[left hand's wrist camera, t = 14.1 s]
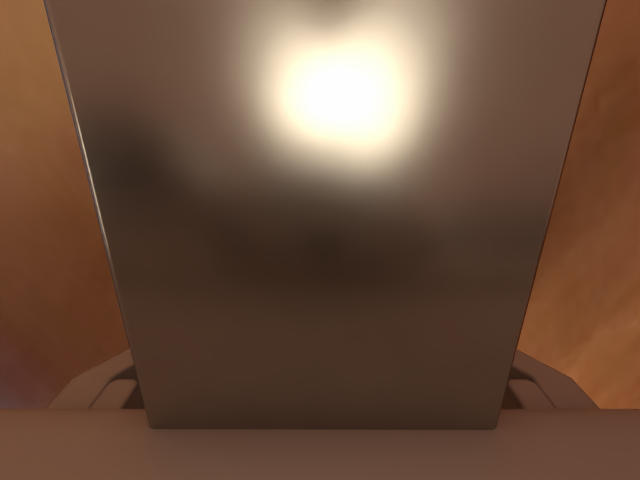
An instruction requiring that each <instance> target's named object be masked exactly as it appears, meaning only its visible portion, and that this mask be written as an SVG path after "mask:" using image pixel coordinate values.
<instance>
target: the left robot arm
mask: <svg viewBox="0 0 640 480" xmlns="http://www.w3.org/2000/svg"><path fill="white" fill-rule="evenodd" d="M0 480H640V409H600V408H599V407H598V406H597V405H596V404H595V403H594V402H593V401H592V400H591V399H590V398H589V397H588V395H587V394H586V393H585V392H584V391H583V390H582V389H581V388H580V387H579V386H578V385H577V384H576V382H575V381H574V380H573V379H572V378H570V377H568V376H566V375H564V374H562V373H561V372H559V371H557V370H555V369H553V368H551V367H549V366H547V365H545V364H543V363H542V362H540V361H538V360H536V359H534V358H532V357H530V356H528V355H526V354H524V353H522V352H521V351H519V350H517V349H516V353H515V357H514V360H513V364H512V368H511V372H510V376H509V380H508V384H507V387H506V391H505V395H504V399H503V403H502V407H501V411H500V414H499V418H498V422H497V426H496V429H493V430H295V429H152V428H150V427H149V423H148V419H147V415H146V411H145V407H144V403H143V399H142V395H141V391H140V387H139V383H138V379H137V375H136V371H135V367H134V363H133V359H132V355H131V351H130V348H129V349H127V350H125V351H123V352H121V353H119V354H118V355H116V356H114V357H112V358H110V359H108V360H106V361H104V362H102V363H101V364H99V365H97V366H95V367H93V368H91V369H89V370H87V371H85V372H83V373H82V374H80V375H78V376H76V377H74V378H73V379H72V380H71V381H70V382H69V383H68V384H67V385H66V386H65V388H64V389H63V390H62V391H61V392H60V393H59V394H58V395H57V396H56V397H55V399H54V400H53V401H52V402H51V403H50V404H49V405H48V406H47V407H46V408H45V409H0Z"/></svg>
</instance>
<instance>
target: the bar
mask: <svg viewBox="0 0 640 480" xmlns="http://www.w3.org/2000/svg"><path fill="white" fill-rule="evenodd" d="M43 1H44V5H45V9H46V13H47V17H48V21H49V25H50V29H51V33H52V37H53V41H54V45H55V49H56V53H57V57H58V61H59V65H60V69H61V73H62V77H63V81H64V85H65V89H66V93H67V97H68V101H69V105H70V109H71V113H72V117H73V121H74V125H75V129H76V133H77V137H78V142H79V146H80V150H81V154H82V158H83V162H84V166H85V170H86V174H87V178H88V182H89V186H90V190H91V194H92V198H93V202H94V206H95V210H96V214H97V218H98V222H99V226H100V230H101V234H102V238H103V242H104V246H105V250H106V254H107V258H108V262H109V266H110V270H111V274H112V278H113V282H114V286H115V290H116V294H117V298H118V302H119V306H120V310H121V314H122V318H123V322H124V326H125V330H126V334H127V338H128V342H129V346H130V351H131V355H132V359H133V363H134V367H135V371H136V375H137V379H138V383H139V387H140V391H141V395H142V399H143V403H144V407H145V411H146V415H147V419H148V423H149V427H150V428H152V429H295V430H493V429H496V426H497V422H498V418H499V414H500V411H501V407H502V403H503V399H504V395H505V391H506V387H507V384H508V380H509V376H510V372H511V368H512V364H513V360H514V357H515V353H516V349H517V345H518V341H519V337H520V333H521V330H522V326H523V322H524V318H525V314H526V310H527V306H528V303H529V299H530V295H531V291H532V287H533V283H534V280H535V276H536V272H537V268H538V264H539V260H540V256H541V253H542V249H543V245H544V241H545V237H546V233H547V229H548V226H549V222H550V218H551V214H552V210H553V206H554V202H555V199H556V195H557V191H558V187H559V183H560V179H561V176H562V172H563V168H564V164H565V160H566V156H567V152H568V149H569V145H570V141H571V137H572V133H573V129H574V125H575V122H576V118H577V114H578V110H579V106H580V102H581V98H582V95H583V91H584V87H585V83H586V79H587V75H588V71H589V68H590V64H591V60H592V56H593V52H594V48H595V45H596V41H597V37H598V33H599V29H600V25H601V21H602V18H603V14H604V10H605V6H606V2H607V0H43Z"/></svg>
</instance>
